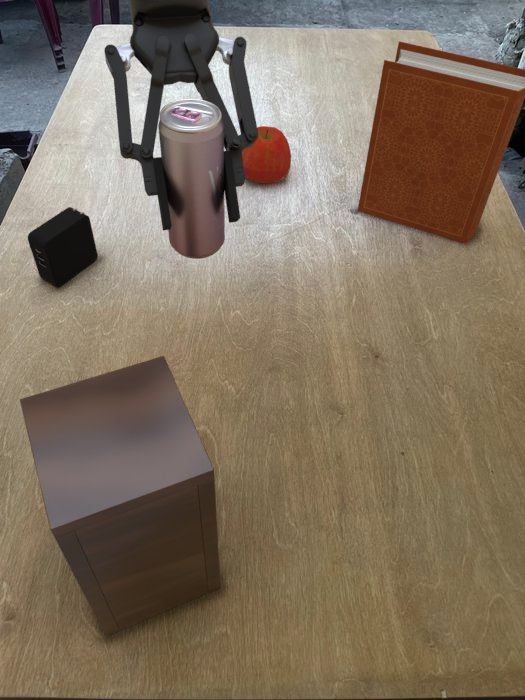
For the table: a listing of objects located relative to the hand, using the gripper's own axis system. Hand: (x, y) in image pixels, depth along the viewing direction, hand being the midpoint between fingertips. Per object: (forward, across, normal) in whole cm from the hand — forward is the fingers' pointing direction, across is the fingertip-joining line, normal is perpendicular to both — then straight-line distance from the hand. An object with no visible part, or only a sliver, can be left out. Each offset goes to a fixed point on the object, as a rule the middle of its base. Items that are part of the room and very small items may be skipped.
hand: (201, 223), depth 61 cm
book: (-3, -50, -55) cm, 74 cm away
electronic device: (-1, +18, -54) cm, 57 cm away
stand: (+38, +11, -14) cm, 42 cm away
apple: (-17, -23, -69) cm, 75 cm away
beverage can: (+1, 0, -6) cm, 7 cm away
